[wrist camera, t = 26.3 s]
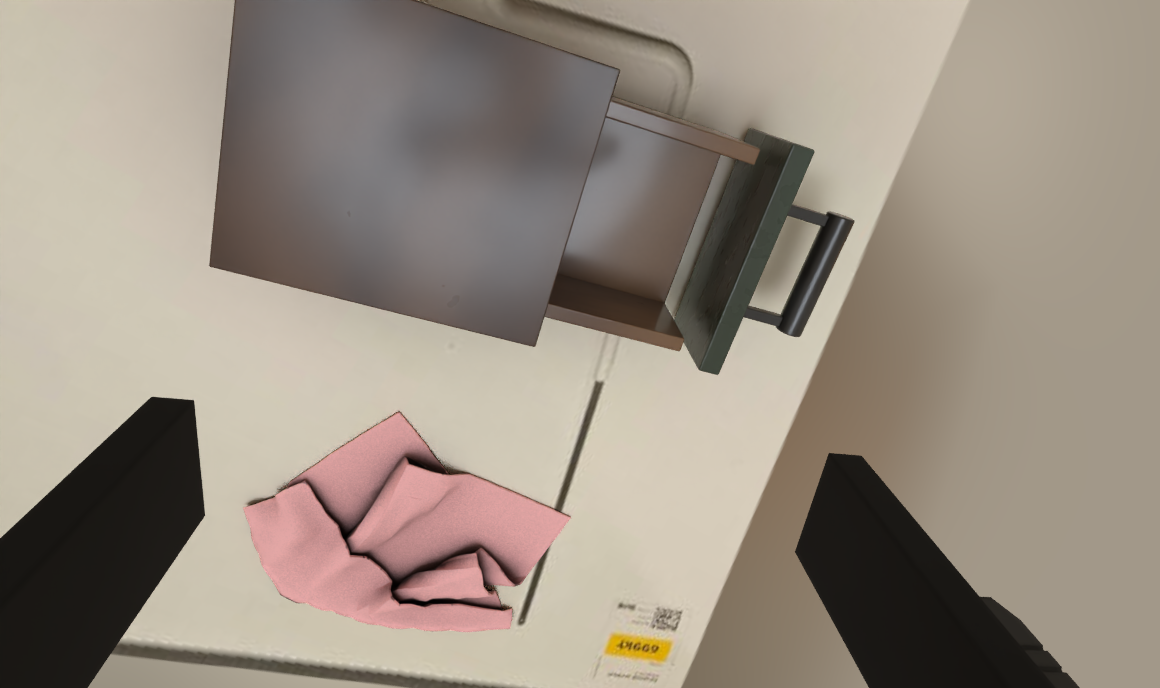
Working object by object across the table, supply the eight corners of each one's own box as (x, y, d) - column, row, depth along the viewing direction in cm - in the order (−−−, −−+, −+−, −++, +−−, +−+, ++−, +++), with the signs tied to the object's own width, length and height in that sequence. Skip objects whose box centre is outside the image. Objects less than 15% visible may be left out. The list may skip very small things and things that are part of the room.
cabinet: (599, 64, 36) (620, 69, 28) (532, 290, 41) (535, 347, 34) (306, -35, 33) (240, -60, 26) (272, 222, 38) (208, 267, 31)
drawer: (840, 158, 39) (901, 179, 32) (757, 345, 43) (796, 395, 37) (520, 50, 35) (520, 51, 29) (465, 268, 39) (455, 309, 33)
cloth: (202, 502, 46) (186, 525, 44) (483, 372, 43) (481, 389, 41) (365, 682, 54) (358, 709, 52) (609, 581, 52) (613, 605, 49)
